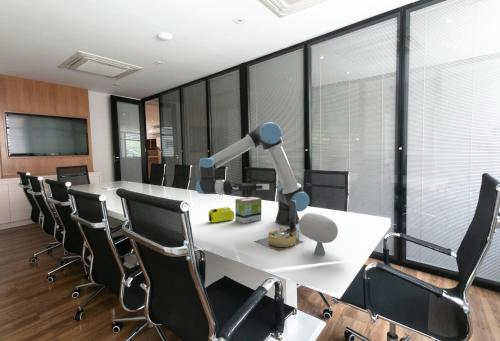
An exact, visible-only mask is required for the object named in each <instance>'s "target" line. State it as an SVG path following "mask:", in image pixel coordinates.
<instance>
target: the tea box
mask: <svg viewBox="0 0 500 341" xmlns="http://www.w3.org/2000/svg"><path fill="white" fill-rule="evenodd" d="M234 202H235V206H234V207H235V208H234V209H235V210H234V220H235V221H236V222H238V223H242V224H247V223H251V222H256V221H261V220H262V198H261V197H256V196H249V197H241V198H235V201H234Z"/></svg>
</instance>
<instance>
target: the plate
mask: <svg viewBox="0 0 500 341" xmlns="http://www.w3.org/2000/svg"><path fill="white" fill-rule="evenodd" d="M294 231H295V235H296V244H295V245H292V246H290V247H276V246H274V245H271V244H269V236H267V237H263V238H261V239H257V240H254V241H253V242H255V243H257V244H259V245H262V246H265V247H266V248H269V249H271V250H274V251H277V252H281V251H283V250H286V249H289V248H292V247H294V246H297V245H301V244H303V243H304V241H303V240H301V239H300V230H299V229H297V230H294ZM280 235H284V236H285V237H289V236H290V233H289V232H286V231H277V232H275V233H274V236H276V237H280Z"/></svg>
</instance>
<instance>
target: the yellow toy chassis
mask: <svg viewBox="0 0 500 341" xmlns="http://www.w3.org/2000/svg"><path fill="white" fill-rule="evenodd" d="M232 220H235V211H233V210H232V209H231V207H229V206H227V207H220V208H219V207H217V208H212V209H210V210H209V211H208V221H209V222H210V223H211V224H212V223H213V224H214V223H219V222H225V221H232Z"/></svg>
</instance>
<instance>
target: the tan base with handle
mask: <svg viewBox="0 0 500 341" xmlns="http://www.w3.org/2000/svg"><path fill="white" fill-rule="evenodd" d="M294 230H298V227H297V224H296V200H290V225H289V228H286V229H284V227H279V229H275V230H269V231H268V237H269V244H271V245H274V246H276V247H289V248H291V247H290V246H292V245H295V244H296V235H295V231H294ZM277 231H286V232H289V233H290V236H289V237H285V236H284V235H280V237H276V236H274V233H275V232H277ZM295 246H296V245H295ZM292 247H293V246H292Z"/></svg>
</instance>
